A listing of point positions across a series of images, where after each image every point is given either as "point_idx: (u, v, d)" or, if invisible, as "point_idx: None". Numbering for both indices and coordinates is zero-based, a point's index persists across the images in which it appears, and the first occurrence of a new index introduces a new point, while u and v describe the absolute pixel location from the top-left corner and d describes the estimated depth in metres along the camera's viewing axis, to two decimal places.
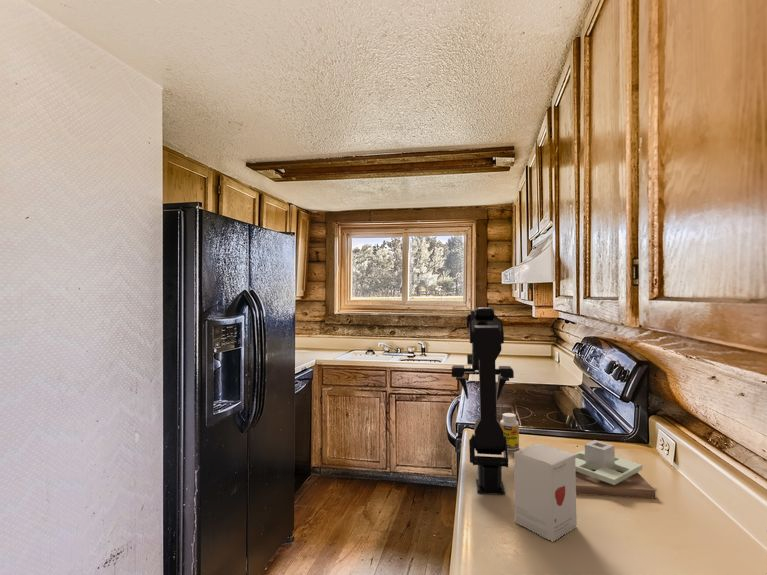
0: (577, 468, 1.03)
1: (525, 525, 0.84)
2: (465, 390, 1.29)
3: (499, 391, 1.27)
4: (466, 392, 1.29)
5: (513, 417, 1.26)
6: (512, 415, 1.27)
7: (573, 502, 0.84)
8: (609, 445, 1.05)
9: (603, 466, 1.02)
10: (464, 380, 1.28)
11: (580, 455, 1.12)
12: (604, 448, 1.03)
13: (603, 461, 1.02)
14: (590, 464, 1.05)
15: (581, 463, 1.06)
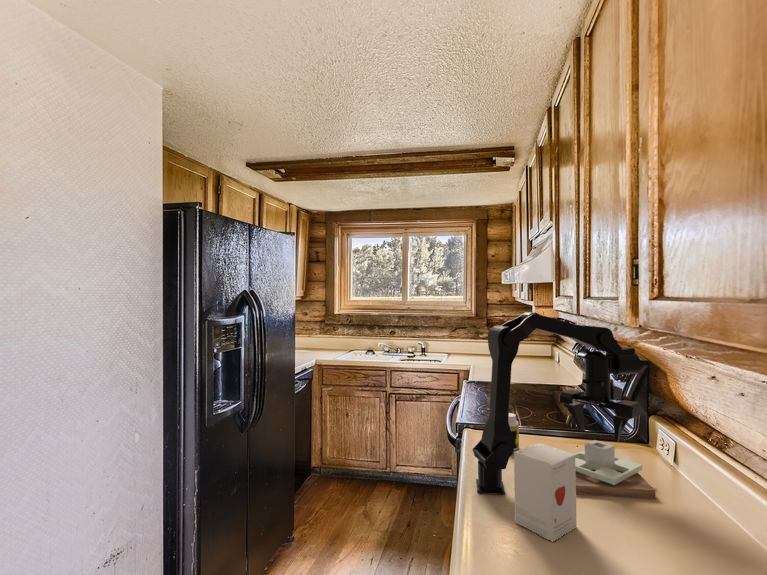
0: (577, 468, 1.03)
1: (525, 525, 0.84)
2: (575, 421, 1.09)
3: (616, 431, 1.01)
4: (577, 423, 1.09)
5: (513, 417, 1.26)
6: (512, 415, 1.27)
7: (573, 502, 0.84)
8: (609, 445, 1.05)
9: (603, 466, 1.02)
10: (572, 408, 1.09)
11: (580, 455, 1.12)
12: (604, 448, 1.03)
13: (603, 461, 1.02)
14: (590, 464, 1.05)
15: (581, 463, 1.06)
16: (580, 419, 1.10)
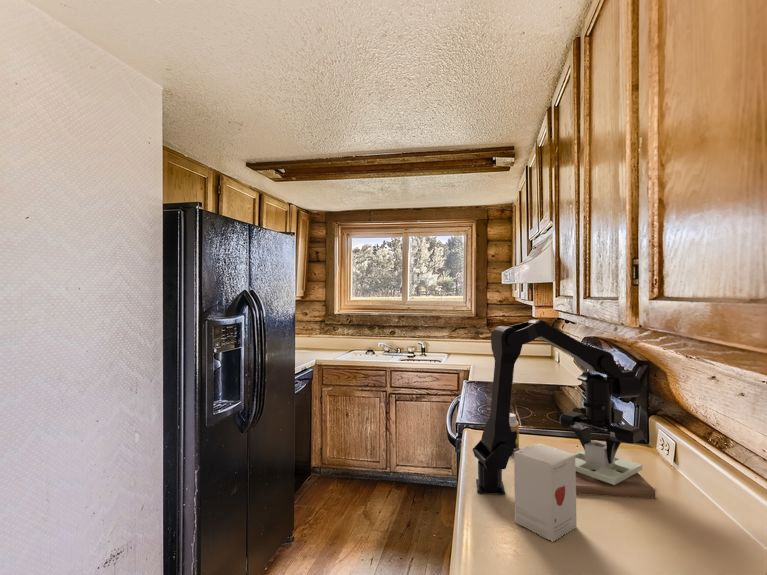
0: (577, 468, 1.03)
1: (525, 525, 0.84)
2: (583, 445, 1.08)
3: (609, 453, 1.02)
4: None
5: (513, 417, 1.26)
6: (512, 415, 1.27)
7: (573, 502, 0.84)
8: None
9: (603, 466, 1.02)
10: (579, 433, 1.07)
11: (580, 455, 1.12)
12: (604, 448, 1.03)
13: (603, 461, 1.02)
14: (590, 464, 1.05)
15: (581, 463, 1.06)
16: None
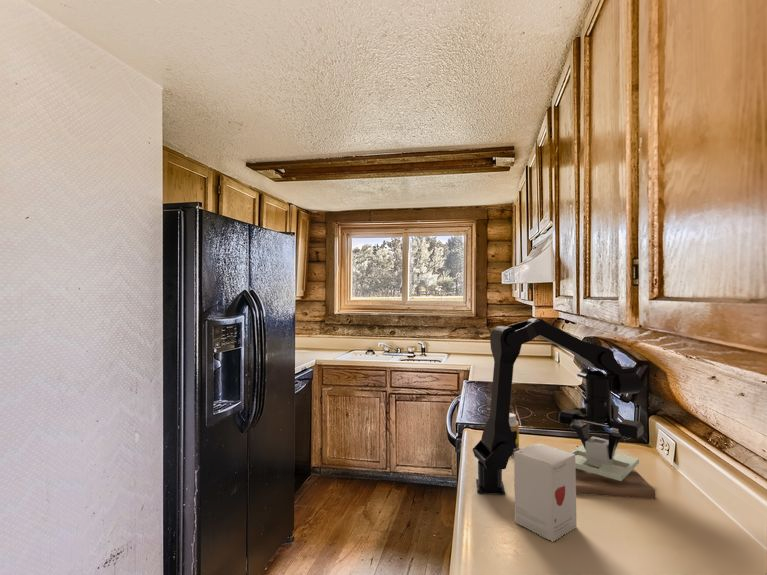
0: (581, 466, 1.02)
1: (525, 525, 0.84)
2: (583, 443, 1.07)
3: (610, 449, 1.02)
4: None
5: (513, 417, 1.26)
6: (512, 415, 1.27)
7: (573, 502, 0.84)
8: (608, 441, 1.06)
9: (605, 462, 1.02)
10: (580, 430, 1.06)
11: (577, 452, 1.11)
12: (605, 444, 1.03)
13: (605, 458, 1.02)
14: (591, 461, 1.05)
15: (582, 460, 1.05)
16: None
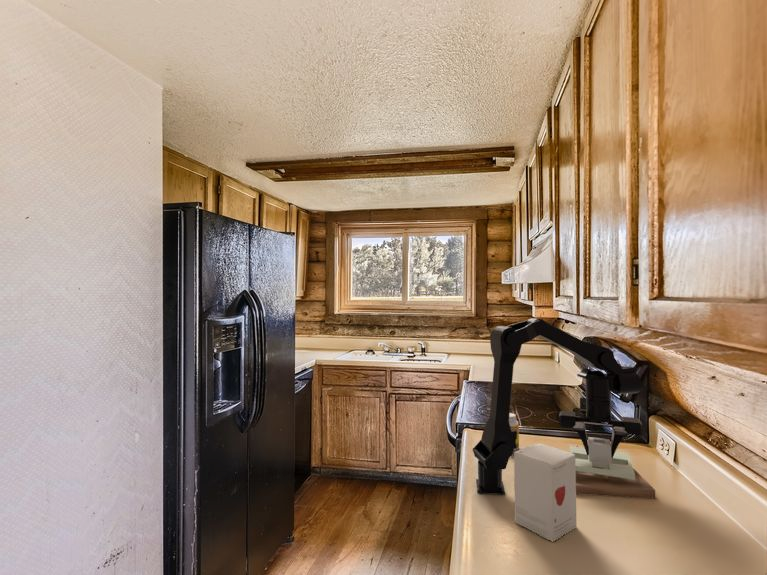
0: (592, 469, 1.00)
1: (525, 525, 0.84)
2: (585, 444, 1.06)
3: (614, 448, 1.03)
4: (586, 447, 1.06)
5: (513, 417, 1.26)
6: (512, 415, 1.27)
7: (573, 502, 0.84)
8: (606, 440, 1.07)
9: (610, 462, 1.03)
10: (584, 433, 1.05)
11: None
12: (608, 444, 1.04)
13: (610, 457, 1.03)
14: (595, 462, 1.04)
15: (588, 463, 1.03)
16: (587, 442, 1.07)
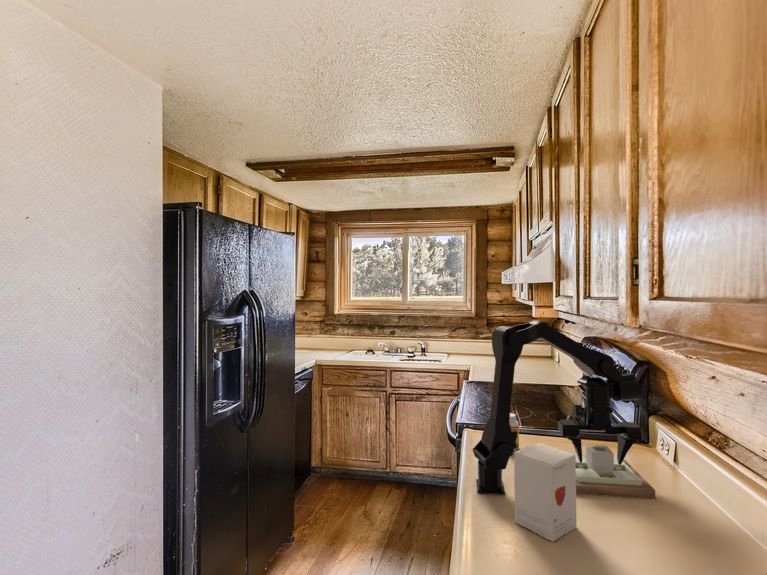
0: (601, 479, 0.99)
1: (525, 525, 0.84)
2: (579, 452, 1.05)
3: (623, 455, 1.03)
4: (580, 455, 1.05)
5: (513, 417, 1.26)
6: (512, 415, 1.27)
7: (573, 502, 0.84)
8: (604, 446, 1.07)
9: (612, 469, 1.03)
10: (579, 441, 1.04)
11: None
12: (609, 451, 1.04)
13: (612, 465, 1.03)
14: (598, 471, 1.03)
15: (593, 472, 1.02)
16: None
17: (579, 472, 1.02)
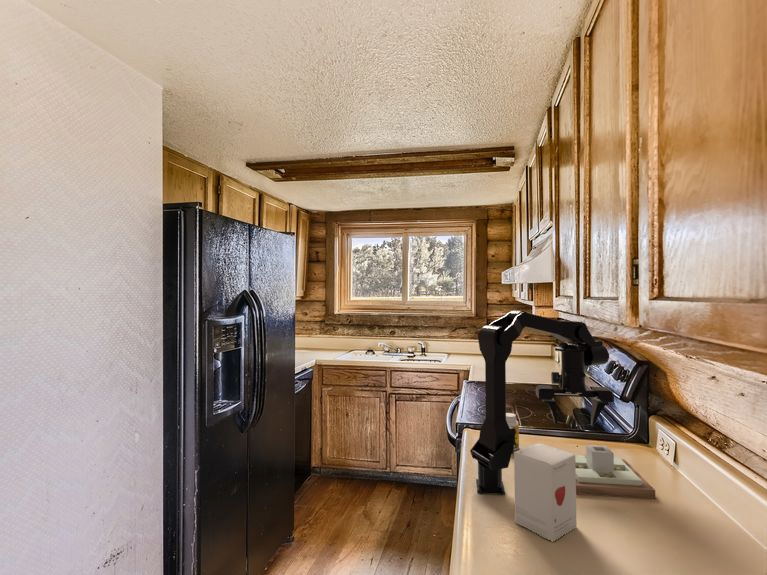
0: (601, 479, 0.99)
1: (525, 525, 0.84)
2: (554, 415, 1.11)
3: (596, 417, 1.09)
4: (555, 417, 1.12)
5: (513, 417, 1.26)
6: (512, 415, 1.27)
7: (573, 502, 0.84)
8: (604, 446, 1.07)
9: (612, 469, 1.03)
10: (554, 403, 1.10)
11: None
12: (609, 451, 1.04)
13: (612, 465, 1.03)
14: (598, 471, 1.03)
15: (593, 472, 1.02)
16: None
17: (579, 472, 1.02)
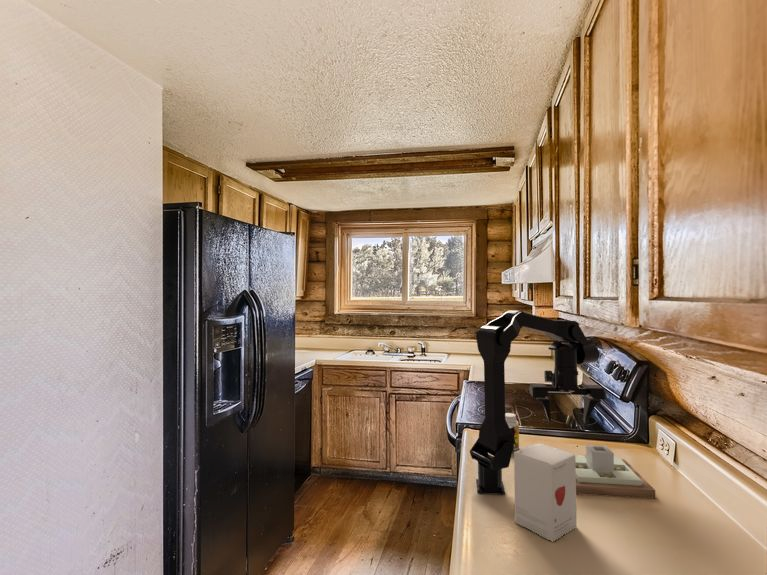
0: (601, 479, 0.99)
1: (525, 525, 0.84)
2: (548, 412, 1.13)
3: (588, 414, 1.11)
4: (549, 415, 1.13)
5: (513, 417, 1.26)
6: (512, 415, 1.27)
7: (573, 502, 0.84)
8: (604, 446, 1.07)
9: (612, 469, 1.03)
10: (548, 401, 1.12)
11: None
12: (609, 451, 1.04)
13: (612, 465, 1.03)
14: (598, 471, 1.03)
15: (593, 472, 1.02)
16: None
17: (579, 472, 1.02)
